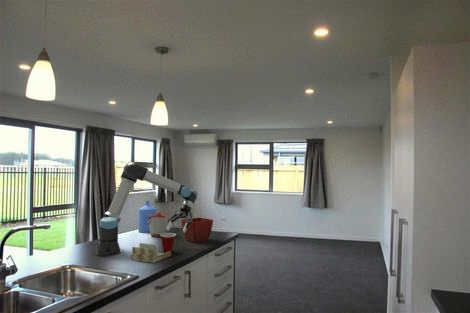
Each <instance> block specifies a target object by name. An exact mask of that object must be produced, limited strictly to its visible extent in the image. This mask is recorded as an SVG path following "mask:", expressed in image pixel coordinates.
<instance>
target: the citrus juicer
mask: <svg viewBox="0 0 470 313" xmlns="http://www.w3.org/2000/svg"><path fill="white" fill-rule="evenodd" d="M167 220H168V215H166V214H161V212H156V215H151V216H149V220H148V221H147V223H149V229H150V233H149V234H150V236H151V237H154V238H156V237H157V238H159V237H161V236H160V234H162V233H167V232H168V230H167V227H168V221H167Z"/></svg>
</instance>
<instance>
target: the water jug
mask: <svg viewBox="0 0 470 313" xmlns="http://www.w3.org/2000/svg"><path fill="white" fill-rule="evenodd" d="M156 214H157V208H156V207H154V206H153V205H152V206H151V205H150V200H145V205H144V206H142V207H140V208H139V209H138V229H137V230H138V232H139V233H141V234H142V233H143V234H148V233H149V234H150V229H149V223H147V221H148V220H149V216H151V215H156Z"/></svg>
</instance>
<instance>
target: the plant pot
mask: <svg viewBox="0 0 470 313" xmlns="http://www.w3.org/2000/svg"><path fill="white" fill-rule="evenodd" d="M188 220H189V222H190V218H188ZM180 221H181V222H180V223H181V227H182V232H183V235H184V238H185V240H186V241H188V242H191V243H195V244H196V243H202V242H208V241H209V238H210V235H211V233H212V228H213V224H214V219H211V218H205V217H194V218H193V217H192V222H193V224H190V225H189V227H188V228H187V229H186V232H185V233H184V231H183V229H184V226H185V224H186V223H187V220H186V218H182V219H181V220H180Z"/></svg>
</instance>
